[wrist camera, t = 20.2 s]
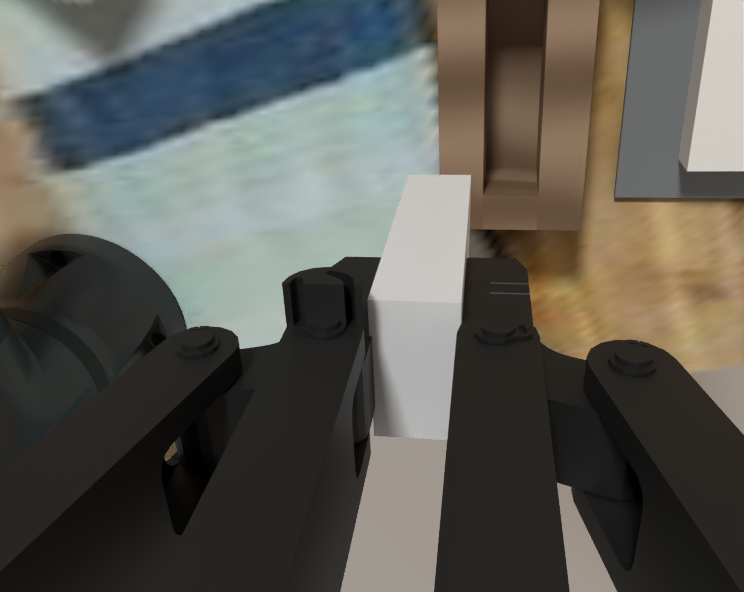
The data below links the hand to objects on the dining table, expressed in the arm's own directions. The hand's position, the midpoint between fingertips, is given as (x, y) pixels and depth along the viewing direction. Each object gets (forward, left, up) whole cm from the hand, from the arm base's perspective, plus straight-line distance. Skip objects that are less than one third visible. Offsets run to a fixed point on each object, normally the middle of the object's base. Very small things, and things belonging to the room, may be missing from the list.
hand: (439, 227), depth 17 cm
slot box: (0, -2, -29) cm, 29 cm away
